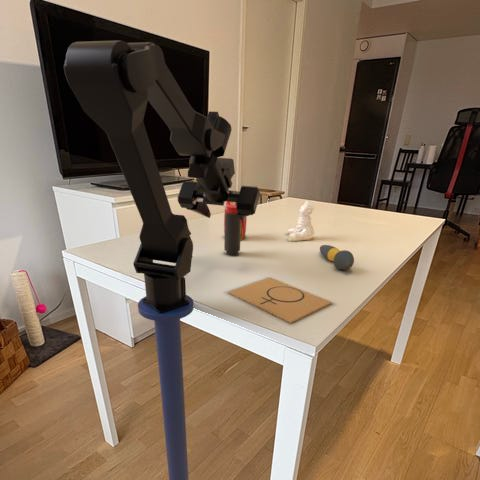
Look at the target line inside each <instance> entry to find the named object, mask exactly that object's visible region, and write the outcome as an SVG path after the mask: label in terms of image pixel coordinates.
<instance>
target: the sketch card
mask: <svg viewBox="0 0 480 480" xmlns="http://www.w3.org/2000/svg"><path fill="white" fill-rule="evenodd" d="M228 294H230V295H232V296H234V297H236V298H237V299H240V300H242V301H244V302H247V303H248V304H251V305H252V306H254V307H256V308H258V309H260V310H263V311H264V312H267V313H269V314H271V315H273V316H275V317H277V318H279V319H281V320H283V321H285V322H287V323H289V324H293V323H294V322H297V321H298V320H301V319H303V318H305V317H307V316H309V315H311V314H313V313H315V312H317V311H320V310H321V309H323V308H325V307H327V306H329V305H331V304H332V301H329V300H327V299H325V298H322V297H320V296H317V295H314V294H313V293H310V292H307V291H305V290H302V289H300V288H297V287H295V286H292V285H289V284H288V283H284V282H282V281H279V280H277V279H275V278H273V277H268V278H265V279H262V280H259V281H256V282H253V283H250V284H247V285H244V286H241V287H238V288H235V289H232V290H229V291H228Z"/></svg>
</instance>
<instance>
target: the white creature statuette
mask: <svg viewBox="0 0 480 480" xmlns="http://www.w3.org/2000/svg"><path fill="white" fill-rule="evenodd" d="M314 208H315V207H314V204H313V203H312V202H311V201H308V200H305V201H304V203H303V204H302V205H301V206H300V208H299V211H298V213H299V216H298V218H297V220H296V222H297V223H296V225H295V227H291V228H289V229H287V236H288V238H287V240H288V241H289V242H298V241H299V242H301V241H309V240H311V239H312V238H313V237H314V236H315V233H316V232H315V229H314V226H313V224H312V218H311V215H313V211H314Z"/></svg>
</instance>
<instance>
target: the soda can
mask: <svg viewBox="0 0 480 480" xmlns="http://www.w3.org/2000/svg"><path fill="white" fill-rule="evenodd" d="M228 205H237V202H229V201H225V203H224V210H223V211H224V213H223V226H224V227H223V233H224V234H223V235H224V236H225V212H227V206H228ZM247 218H248V216H245V220H244V222H242V221H241V238H240V240H243V238H246V233H247V220H248V219H247Z"/></svg>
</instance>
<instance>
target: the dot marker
mask: <svg viewBox="0 0 480 480" xmlns="http://www.w3.org/2000/svg"><path fill="white" fill-rule="evenodd" d="M237 213H238V212H237V209H236V205H228V206H227V212H225V235H224V245H223V246H224V249H223V250H224V251H225V252H226V255H227V256H231V257H234V256H237V255H238V253H239V252H240V251H241V239H240V238H241V220H240V218H239V216H238V215H237Z"/></svg>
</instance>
